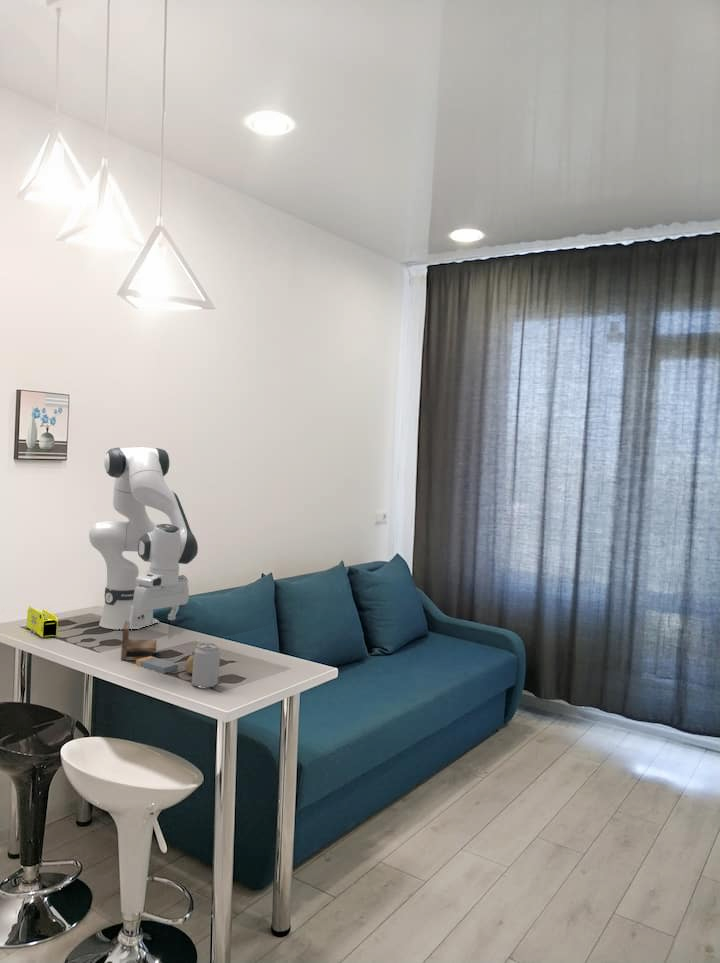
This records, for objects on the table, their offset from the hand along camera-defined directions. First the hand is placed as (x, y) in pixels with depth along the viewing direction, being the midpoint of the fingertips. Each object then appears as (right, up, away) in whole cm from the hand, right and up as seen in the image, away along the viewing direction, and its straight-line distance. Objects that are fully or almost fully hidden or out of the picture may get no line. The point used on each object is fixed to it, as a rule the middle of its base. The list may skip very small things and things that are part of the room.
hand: (160, 621), depth 231 cm
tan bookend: (-10, -13, +12) cm, 20 cm away
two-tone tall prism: (-1, -14, +1) cm, 15 cm away
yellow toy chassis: (-49, -10, +29) cm, 58 cm away
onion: (+12, -16, -2) cm, 20 cm away
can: (+16, -16, -13) cm, 26 cm away
